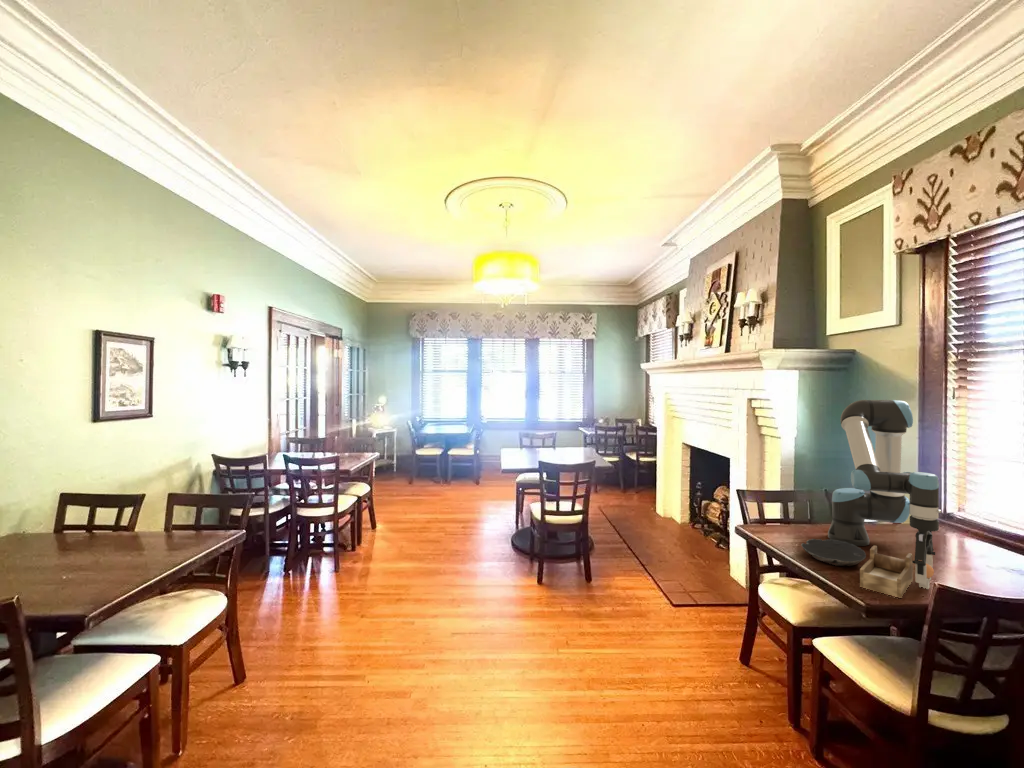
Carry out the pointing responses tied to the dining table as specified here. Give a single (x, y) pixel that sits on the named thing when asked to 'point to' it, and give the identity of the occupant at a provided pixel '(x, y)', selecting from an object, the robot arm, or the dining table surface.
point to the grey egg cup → (926, 584)
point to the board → (834, 552)
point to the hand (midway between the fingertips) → (924, 577)
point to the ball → (929, 571)
